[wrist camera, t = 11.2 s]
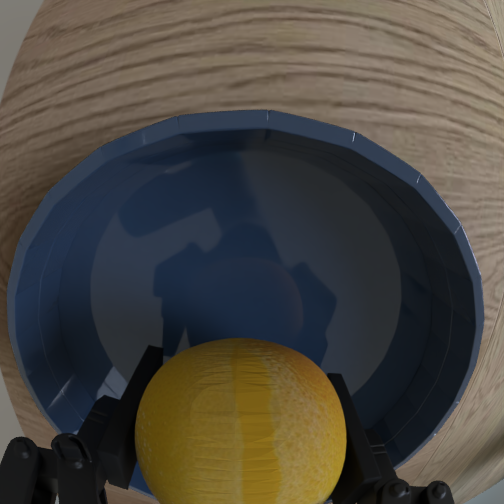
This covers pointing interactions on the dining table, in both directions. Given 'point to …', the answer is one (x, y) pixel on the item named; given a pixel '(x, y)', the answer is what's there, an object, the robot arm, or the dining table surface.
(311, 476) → the fruit
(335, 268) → the bowl
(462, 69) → the dining table surface
